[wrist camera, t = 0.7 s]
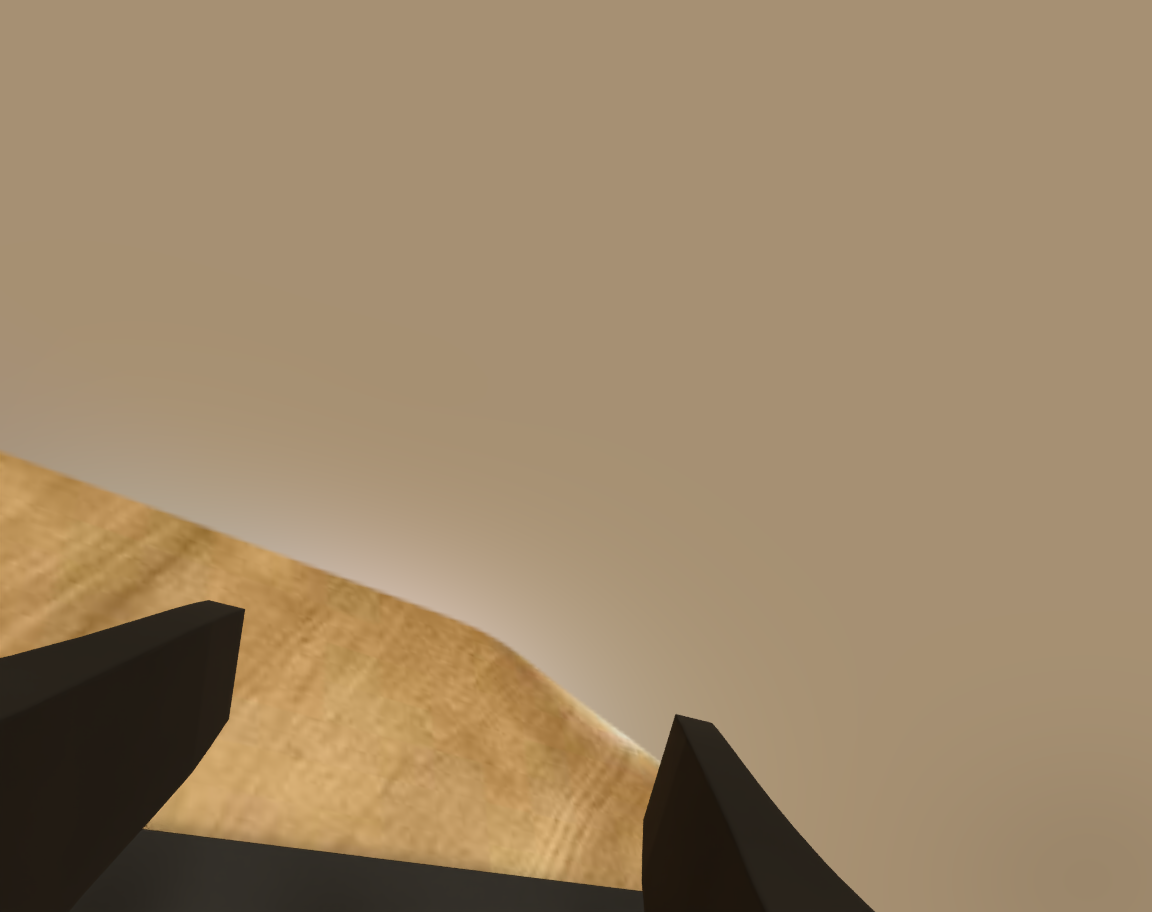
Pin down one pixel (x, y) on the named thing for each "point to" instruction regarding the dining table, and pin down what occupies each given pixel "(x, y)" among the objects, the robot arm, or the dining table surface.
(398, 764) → the dining table surface
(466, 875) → the mat
